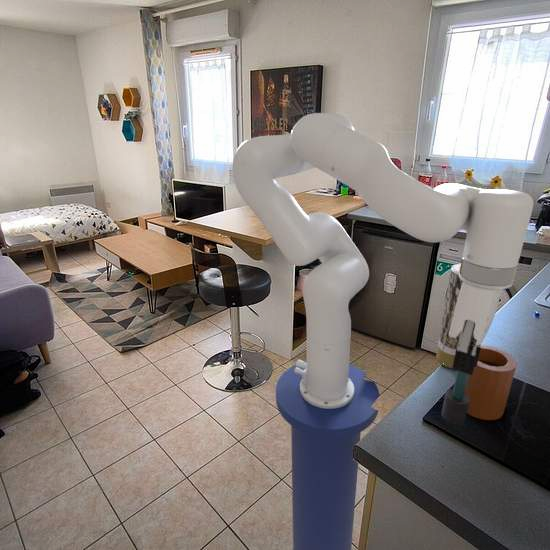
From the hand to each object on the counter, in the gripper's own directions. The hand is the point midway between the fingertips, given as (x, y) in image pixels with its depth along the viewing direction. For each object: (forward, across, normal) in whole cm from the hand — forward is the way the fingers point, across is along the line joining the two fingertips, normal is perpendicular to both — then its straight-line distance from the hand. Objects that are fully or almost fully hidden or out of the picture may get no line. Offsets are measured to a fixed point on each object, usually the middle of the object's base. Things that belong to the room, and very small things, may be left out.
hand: (464, 366), depth 64 cm
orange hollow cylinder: (+16, -12, +3) cm, 20 cm away
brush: (+12, 0, 0) cm, 12 cm away
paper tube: (+16, -24, -6) cm, 30 cm away
